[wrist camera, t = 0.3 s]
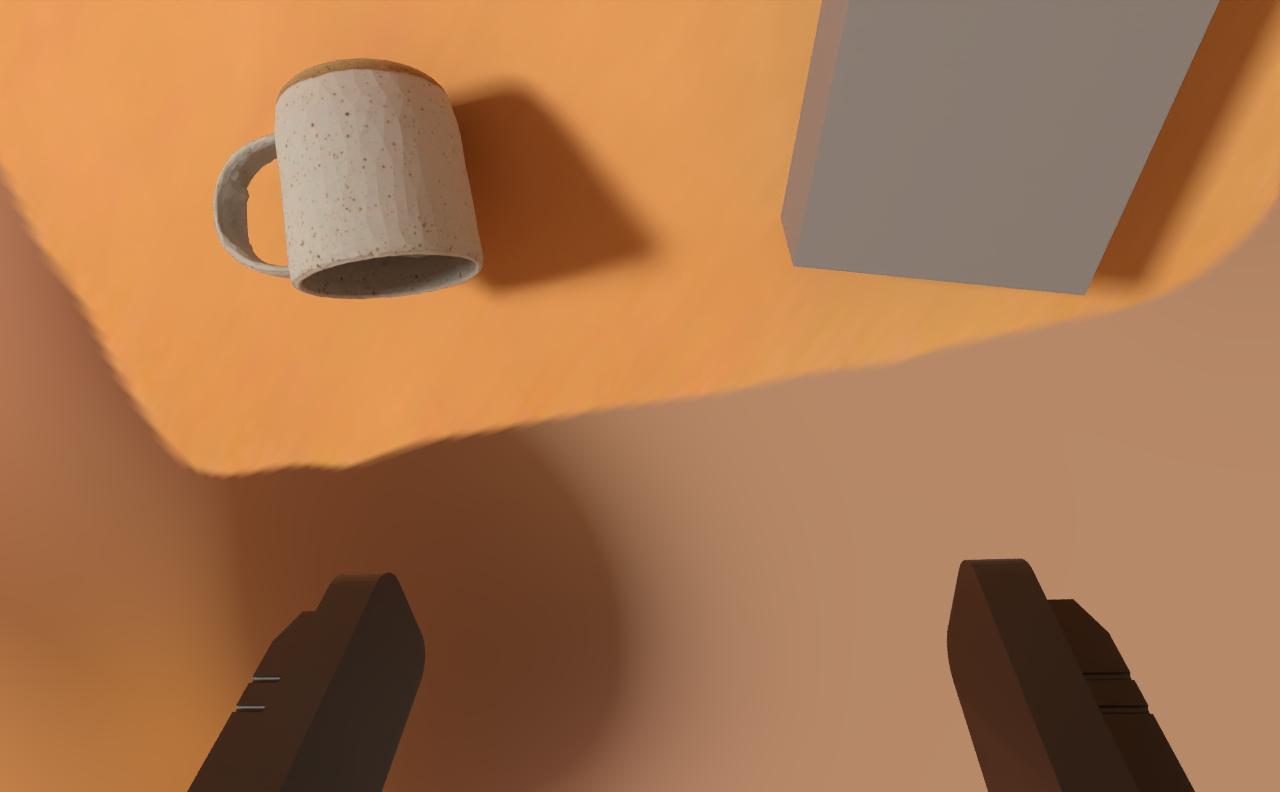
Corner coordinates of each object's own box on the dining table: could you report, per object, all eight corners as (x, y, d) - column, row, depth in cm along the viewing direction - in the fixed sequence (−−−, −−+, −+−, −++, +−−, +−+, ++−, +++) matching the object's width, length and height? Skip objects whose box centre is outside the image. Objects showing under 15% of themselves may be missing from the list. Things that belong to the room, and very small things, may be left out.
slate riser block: (842, -113, 28) (873, -116, 23) (1157, -83, 28) (1257, -81, 23) (780, 215, 35) (793, 266, 30) (1030, 240, 35) (1084, 295, 30)
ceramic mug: (452, 116, 35) (449, 35, 28) (483, 286, 35) (488, 251, 28) (208, 137, 33) (132, 54, 25) (242, 319, 33) (177, 291, 25)
